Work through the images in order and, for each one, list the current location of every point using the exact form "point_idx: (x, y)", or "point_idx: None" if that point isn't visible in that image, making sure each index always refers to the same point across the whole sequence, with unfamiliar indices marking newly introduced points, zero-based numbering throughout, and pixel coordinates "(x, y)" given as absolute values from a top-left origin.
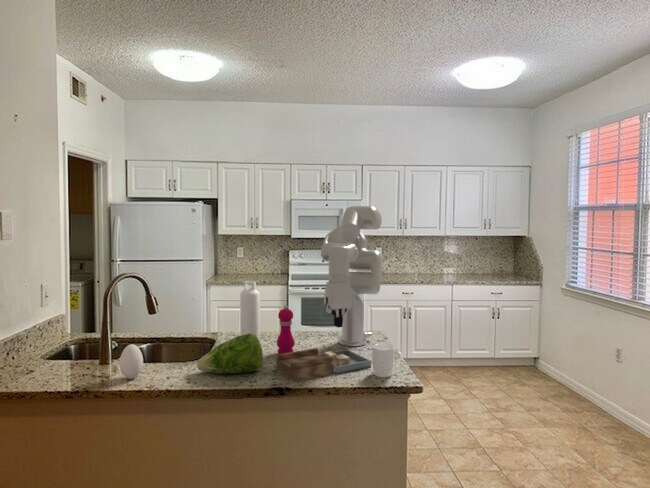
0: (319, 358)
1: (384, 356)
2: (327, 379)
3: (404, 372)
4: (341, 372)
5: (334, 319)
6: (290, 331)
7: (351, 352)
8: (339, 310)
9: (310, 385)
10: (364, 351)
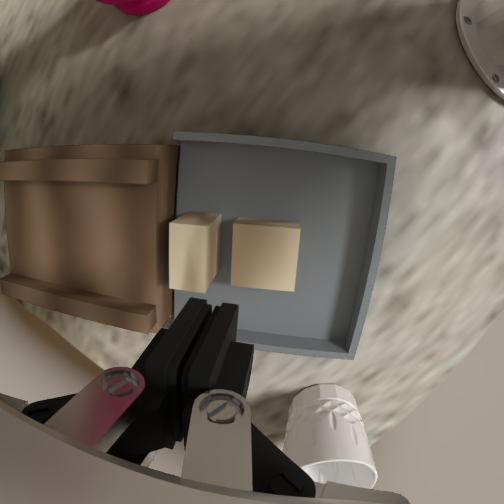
0: (89, 312)
1: None
2: (127, 335)
3: (386, 424)
4: None
5: (141, 366)
6: None
7: (379, 212)
8: (199, 463)
9: (68, 334)
10: (483, 169)
